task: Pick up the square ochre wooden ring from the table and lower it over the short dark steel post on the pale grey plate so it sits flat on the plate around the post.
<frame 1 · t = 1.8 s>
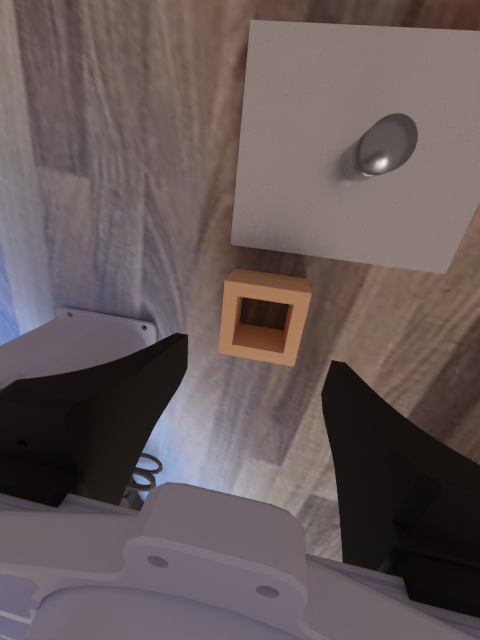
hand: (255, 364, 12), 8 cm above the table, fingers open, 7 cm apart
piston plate: (354, 164, 15), on the table
ring: (264, 306, 20), on the table
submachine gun: (193, 527, 36), on the table
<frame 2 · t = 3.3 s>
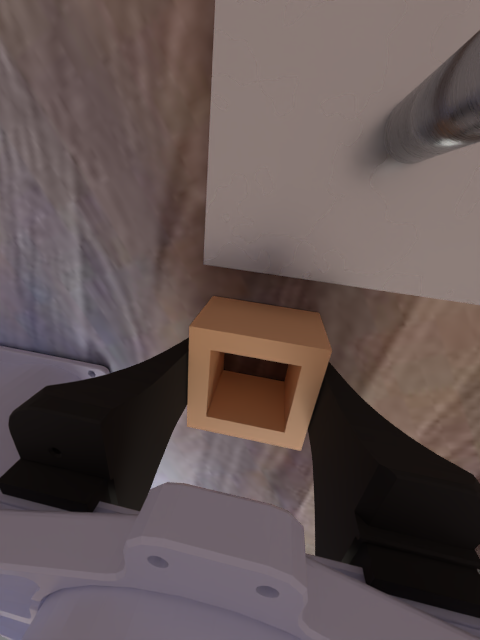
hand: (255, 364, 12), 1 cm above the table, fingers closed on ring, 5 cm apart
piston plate: (404, 135, 9), on the table
ring: (257, 349, 14), on the table, touching gripper
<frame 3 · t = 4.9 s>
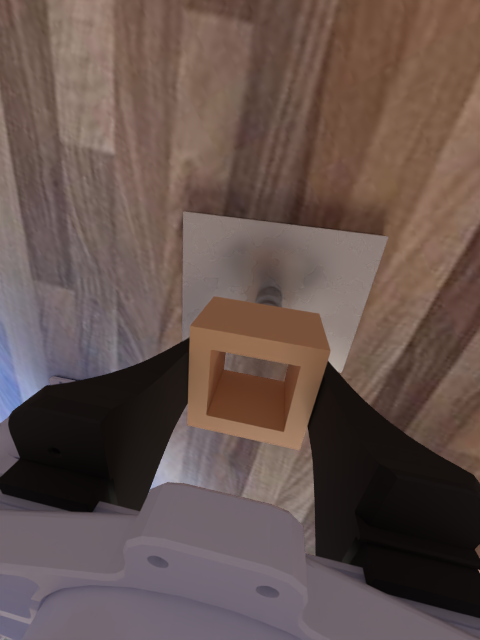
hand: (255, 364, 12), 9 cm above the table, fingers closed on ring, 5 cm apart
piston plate: (269, 294, 20), on the table
ring: (258, 349, 14), point 7 cm above the table, touching gripper
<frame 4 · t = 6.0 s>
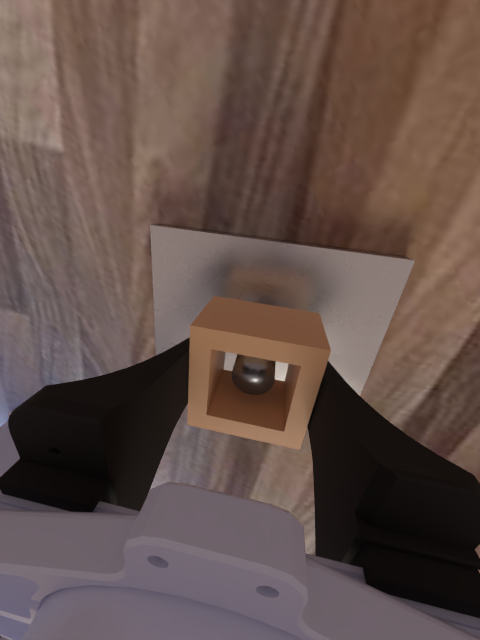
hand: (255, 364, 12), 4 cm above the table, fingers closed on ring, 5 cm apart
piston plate: (262, 326, 16), on the table
ring: (258, 349, 14), point 3 cm above the table, touching gripper
when the fingers open (4 cm above the table, at t = 6.8 s): ring drops 2 cm, resting on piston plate.
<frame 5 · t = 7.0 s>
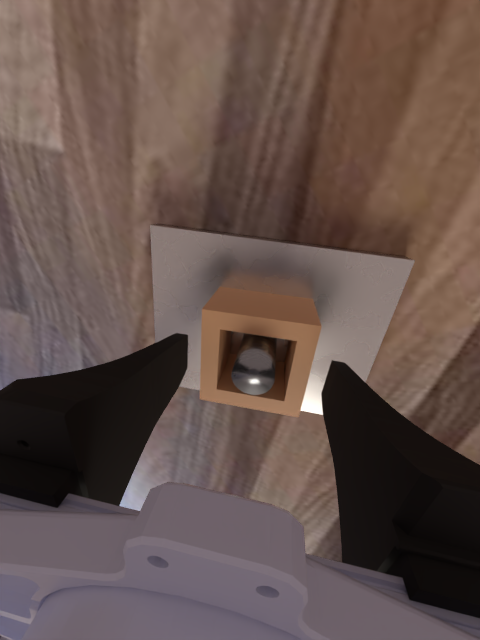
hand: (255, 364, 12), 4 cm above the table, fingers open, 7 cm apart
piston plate: (262, 326, 16), on the table
ring: (259, 333, 16), point 1 cm above the table, touching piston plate
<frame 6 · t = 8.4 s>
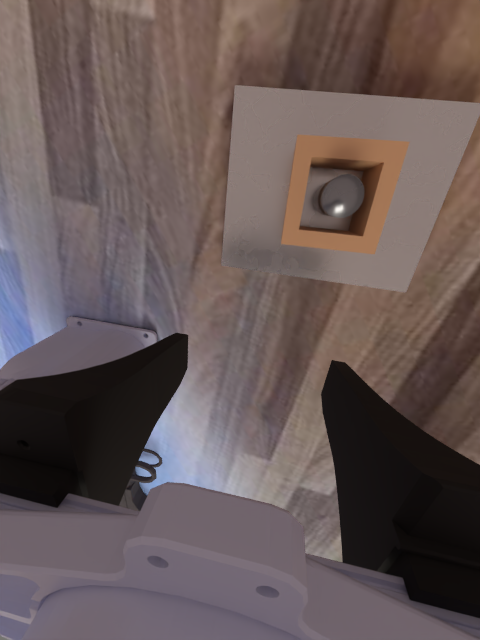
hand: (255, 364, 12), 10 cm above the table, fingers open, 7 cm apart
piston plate: (326, 199, 18), on the table
ring: (327, 199, 17), point 1 cm above the table, touching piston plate
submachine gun: (192, 518, 39), on the table
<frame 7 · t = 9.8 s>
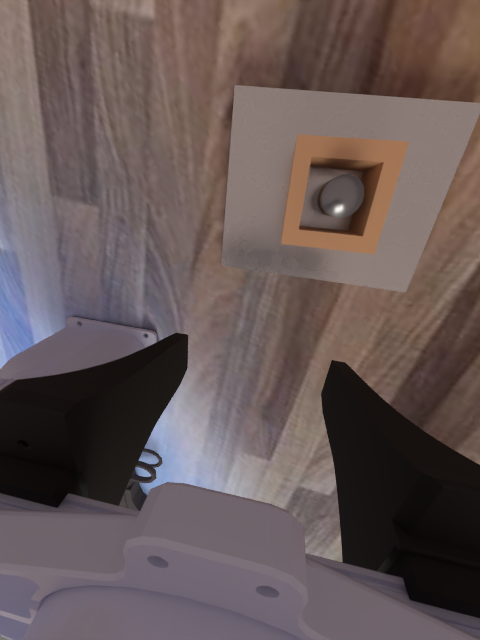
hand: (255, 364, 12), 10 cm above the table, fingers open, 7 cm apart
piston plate: (326, 199, 18), on the table
ring: (327, 199, 17), point 1 cm above the table, touching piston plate
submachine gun: (192, 518, 39), on the table
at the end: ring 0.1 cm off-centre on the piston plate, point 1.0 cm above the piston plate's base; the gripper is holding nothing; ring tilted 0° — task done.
